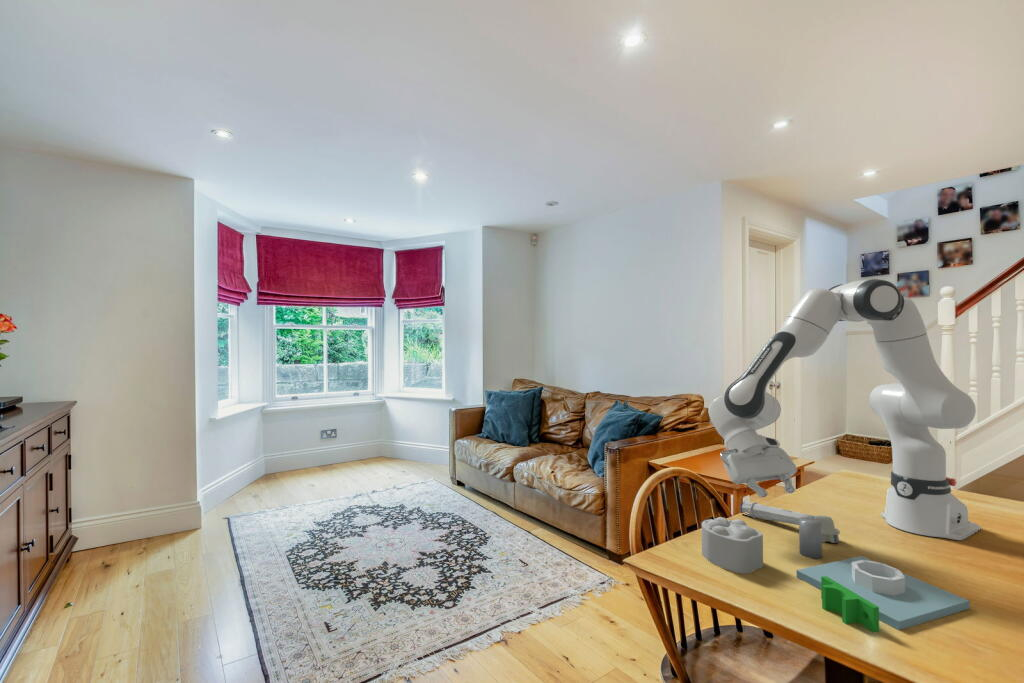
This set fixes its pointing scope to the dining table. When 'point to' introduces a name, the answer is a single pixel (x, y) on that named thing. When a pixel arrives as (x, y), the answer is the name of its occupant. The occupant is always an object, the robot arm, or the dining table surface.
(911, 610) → the duct base
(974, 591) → the dining table surface
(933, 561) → the dining table surface
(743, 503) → the angled head handheld tool
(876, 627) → the pipe clamp
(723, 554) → the lumpy-topped squat cylinder
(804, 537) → the gray domed peg
